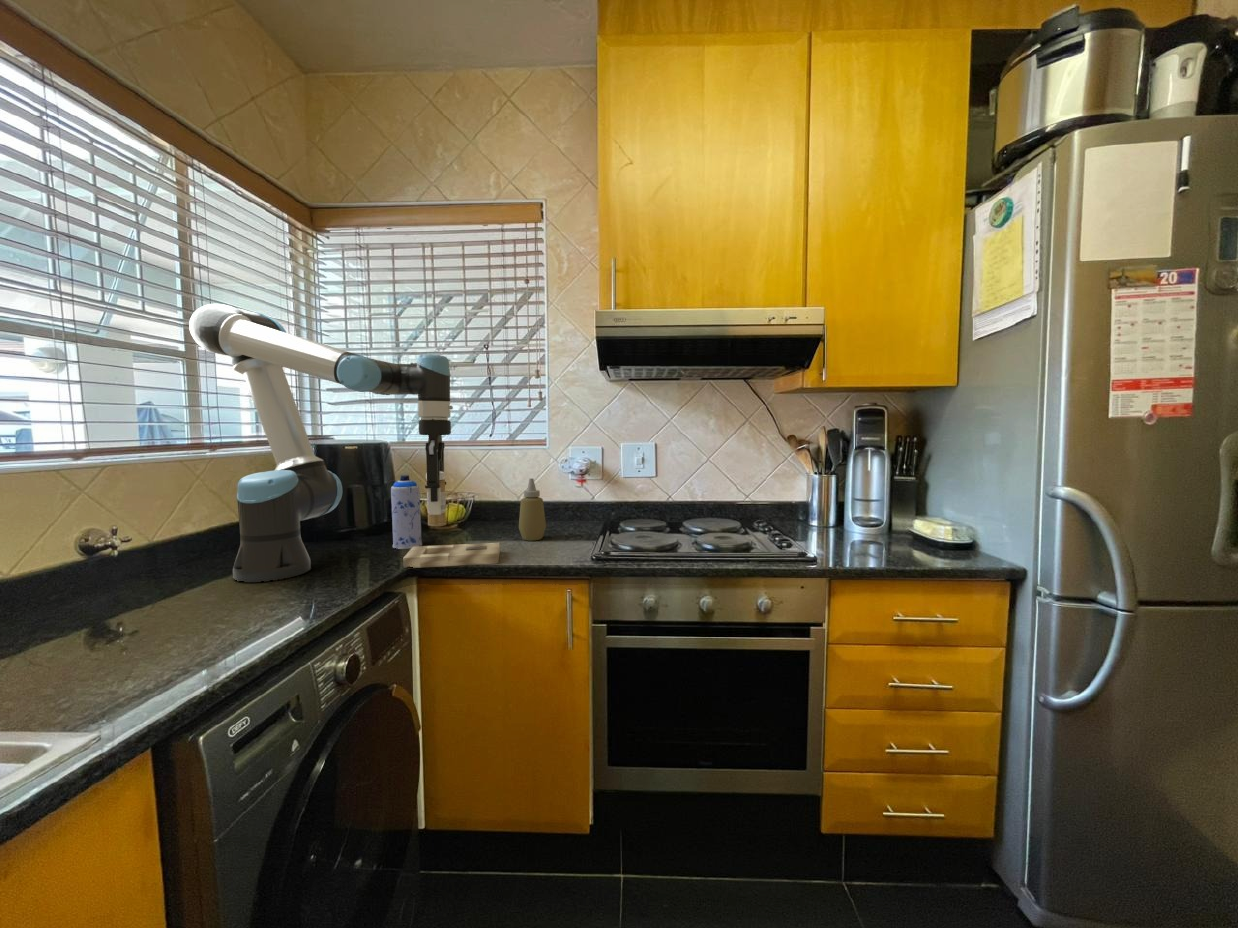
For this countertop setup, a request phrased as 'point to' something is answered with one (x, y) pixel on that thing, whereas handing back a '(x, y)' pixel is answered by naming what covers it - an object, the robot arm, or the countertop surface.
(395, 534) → the aerosol can
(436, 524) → the sprinkles bottle
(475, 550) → the holder block
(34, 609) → the countertop surface
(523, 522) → the squeeze bottle
